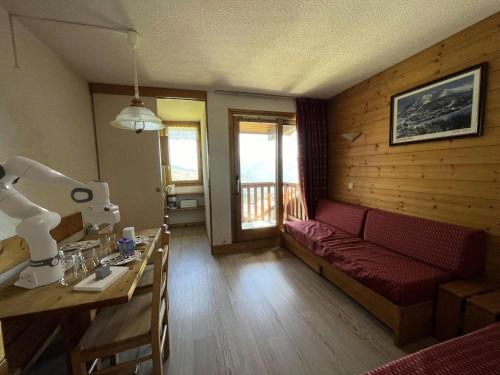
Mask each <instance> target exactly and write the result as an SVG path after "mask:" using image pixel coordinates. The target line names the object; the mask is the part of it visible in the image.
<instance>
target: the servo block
mask: <svg viewBox="0 0 500 375" xmlns="http://www.w3.org/2000/svg"><path fill="white" fill-rule="evenodd" d="M110 267H111V266H110V265H107V264H103V265H101V266H100V267H98V268H97V269H95V270H94V273H95V275H96V278H95V279H94V281H99V280H103V279H105V278H106V277H107V276H109V275H110V273H111V272H112V271H110Z"/></svg>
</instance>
